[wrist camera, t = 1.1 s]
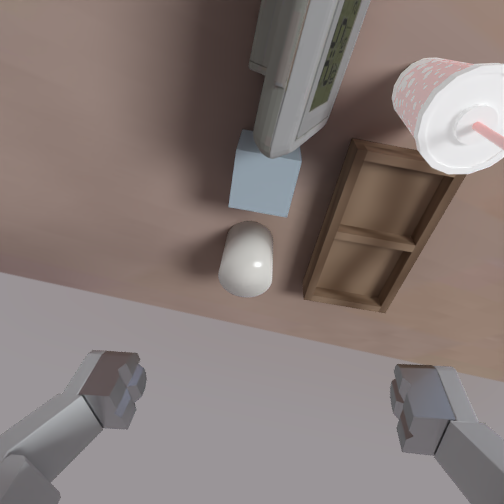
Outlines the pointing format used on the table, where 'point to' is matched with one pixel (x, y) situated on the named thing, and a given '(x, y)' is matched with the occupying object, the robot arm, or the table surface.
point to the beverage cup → (453, 112)
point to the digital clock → (300, 67)
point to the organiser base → (376, 225)
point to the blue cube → (263, 178)
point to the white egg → (247, 260)
